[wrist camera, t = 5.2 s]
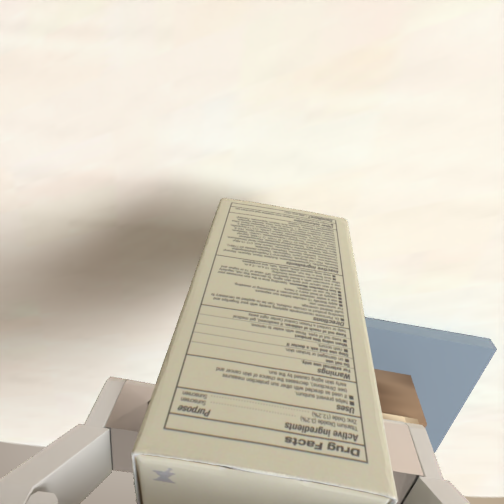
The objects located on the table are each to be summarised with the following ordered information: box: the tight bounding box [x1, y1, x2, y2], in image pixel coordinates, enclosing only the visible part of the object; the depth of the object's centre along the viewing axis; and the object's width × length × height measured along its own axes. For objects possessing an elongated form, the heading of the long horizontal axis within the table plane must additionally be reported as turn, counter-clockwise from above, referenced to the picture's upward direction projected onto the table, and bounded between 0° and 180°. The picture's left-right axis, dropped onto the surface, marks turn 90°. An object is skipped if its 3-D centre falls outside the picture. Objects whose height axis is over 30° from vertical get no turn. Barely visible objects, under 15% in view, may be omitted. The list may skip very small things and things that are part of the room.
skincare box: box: [131, 198, 398, 504], centre depth 15 cm, size 6×4×12 cm
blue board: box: [365, 317, 497, 453], centre depth 30 cm, size 18×14×1 cm
